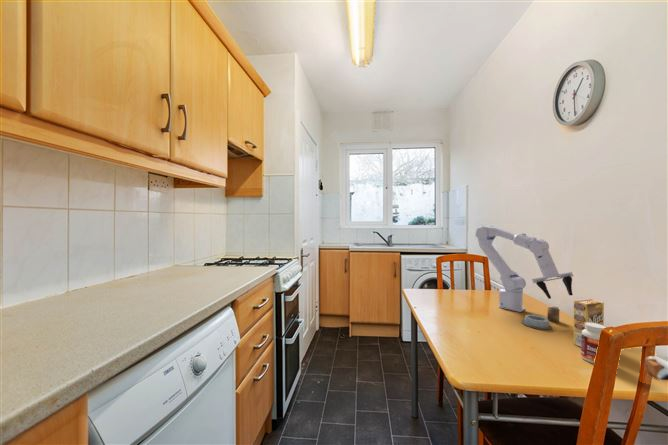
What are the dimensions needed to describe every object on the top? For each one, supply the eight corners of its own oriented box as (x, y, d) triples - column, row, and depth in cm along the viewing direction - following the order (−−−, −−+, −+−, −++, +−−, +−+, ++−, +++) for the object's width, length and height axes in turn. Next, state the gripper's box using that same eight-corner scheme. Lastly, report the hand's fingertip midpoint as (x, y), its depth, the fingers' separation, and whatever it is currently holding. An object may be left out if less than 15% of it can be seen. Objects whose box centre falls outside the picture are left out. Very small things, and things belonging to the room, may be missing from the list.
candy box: (586, 349, 90) (587, 304, 90) (572, 344, 94) (573, 300, 94) (604, 346, 93) (605, 302, 93) (589, 341, 97) (590, 298, 97)
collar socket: (519, 324, 112) (519, 317, 112) (524, 318, 119) (524, 312, 118) (549, 332, 104) (549, 324, 104) (553, 325, 111) (553, 318, 111)
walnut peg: (546, 320, 117) (546, 306, 117) (548, 318, 120) (548, 305, 120) (558, 323, 114) (558, 309, 114) (559, 321, 117) (560, 307, 117)
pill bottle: (585, 363, 82) (586, 326, 82) (577, 353, 87) (577, 320, 87) (613, 367, 79) (613, 330, 79) (602, 358, 85) (603, 323, 85)
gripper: (529, 268, 120) (542, 300, 115) (569, 261, 114) (584, 293, 110) (527, 270, 126) (539, 299, 121) (564, 262, 120) (578, 293, 116)
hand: (560, 296), depth 116 cm, fingers open, 7 cm apart
